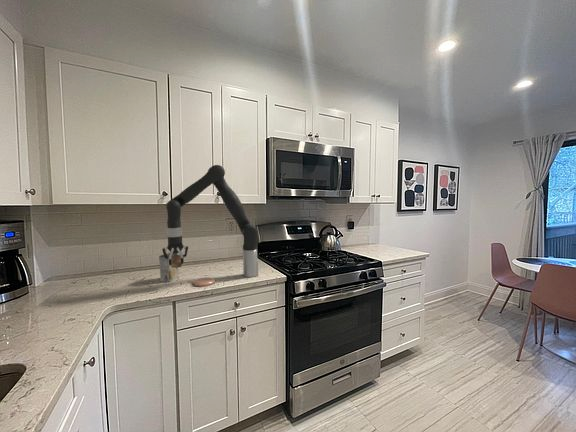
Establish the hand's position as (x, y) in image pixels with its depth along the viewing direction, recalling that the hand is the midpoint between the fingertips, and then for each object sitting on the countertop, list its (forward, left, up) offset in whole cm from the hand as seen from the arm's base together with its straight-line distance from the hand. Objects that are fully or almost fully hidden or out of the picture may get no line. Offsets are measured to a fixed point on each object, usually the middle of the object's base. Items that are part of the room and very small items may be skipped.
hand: (176, 264), depth 146 cm
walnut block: (0, 0, -1) cm, 1 cm away
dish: (-15, 0, -13) cm, 20 cm away
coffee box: (+5, -15, -13) cm, 21 cm away
